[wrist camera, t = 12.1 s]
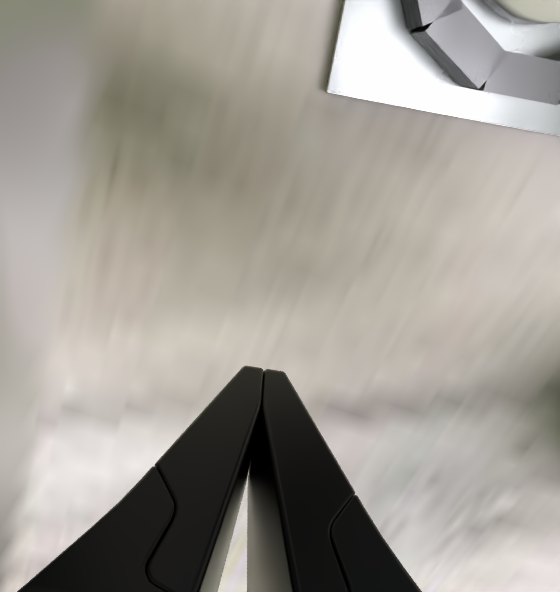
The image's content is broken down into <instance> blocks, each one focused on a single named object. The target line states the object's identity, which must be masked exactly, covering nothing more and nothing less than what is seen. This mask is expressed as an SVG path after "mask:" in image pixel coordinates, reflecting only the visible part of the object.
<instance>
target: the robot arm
mask: <svg viewBox="0 0 560 592" xmlns="http://www.w3.org/2000/svg"><path fill="white" fill-rule="evenodd" d="M248 471H249V475H248ZM247 476H248V530H247V592H422V591H421V590H420V589H419V587H418V586H417V585H416V583H415V582H414V580H413V579H412V578H411V576H410V575H409V574H408V572H407V571H406V570H405V568H404V567H403V566H402V564H401V563H400V561H399V560H398V558H397V557H396V556H395V554H394V553H393V551H392V550H391V548H390V547H389V546H388V544H387V543H386V541H385V540H384V538H383V537H382V535H381V534H380V532H379V531H378V529H377V527H376V526H375V524H374V523H373V521H372V519H371V518H370V516H369V515H368V513H367V511H366V510H365V508H364V506H363V505H362V503H361V501H360V499H359V498H358V496H357V495H355V491H354V489H353V488H352V486H351V484H350V483H349V481H348V479H347V477H346V476H345V474H344V472H343V471H342V469H341V467H340V466H339V464H338V462H337V460H336V459H335V457H334V455H333V454H332V452H331V450H330V449H329V447H328V445H327V443H326V442H325V440H324V438H323V437H322V435H321V433H320V432H319V430H318V428H317V426H316V425H315V423H314V421H313V420H312V418H311V416H310V415H309V413H308V411H307V409H306V408H305V406H304V404H303V403H302V401H301V399H300V397H299V396H298V394H297V392H296V391H295V389H294V387H293V386H292V384H291V382H290V380H289V379H288V377H287V375H286V374H285V373H284V372H283V371H277V370H270V369H266V370H265V371H263V369H262V368H257V367H251V366H244V367H243V368H241V370H240V371H239V372H238V373H237V374H236V375H235V376H234V377H233V378H232V380H231V381H230V382H229V383H228V384H227V385H226V386H225V387H224V388H223V389H222V391H221V392H220V393H219V394H218V395H217V396H216V397H215V398H214V399H213V401H212V402H211V403H210V404H209V405H208V406H207V407H206V408H205V409H204V410H203V412H202V413H201V414H200V415H199V416H198V417H197V418H196V419H195V420H194V422H193V423H192V424H191V425H190V426H189V427H188V428H187V429H186V430H185V431H184V433H183V434H182V435H181V436H180V437H179V438H178V439H177V440H176V441H175V443H174V444H173V445H172V446H171V447H170V448H169V449H168V450H167V451H166V452H165V454H164V455H163V456H162V457H161V458H160V459H159V460H158V461H157V462H156V464H155V467H152V468H151V469H150V470H149V471H148V472H147V473H146V474H145V475H144V476H143V478H142V479H141V480H140V481H139V482H138V483H137V484H136V485H135V486H134V487H133V488H132V489H131V490H130V491H129V492H128V493H127V494H126V495H125V496H124V497H123V498H122V500H121V501H120V502H119V503H118V504H116V505H115V506H114V507H113V508H112V509H111V510H110V511H109V512H108V513H107V514H105V515H104V516H103V517H102V518H101V519H100V520H99V521H98V522H97V523H96V524H95V525H93V526H92V527H91V528H90V529H89V530H88V531H87V532H85V533H84V534H83V535H82V536H81V537H80V538H78V539H77V540H76V541H75V542H74V543H73V544H72V545H70V546H69V547H68V548H67V549H66V550H65V551H64V552H62V553H61V554H60V555H59V556H58V557H57V558H55V559H54V560H53V561H52V562H51V563H50V564H49V565H47V566H46V567H45V568H44V569H43V570H42V571H40V572H39V573H38V574H37V575H36V576H35V577H34V578H32V579H31V580H30V581H29V582H28V583H27V584H26V585H24V586H23V587H22V588H21V589H20V590H18V591H17V592H217V591H218V588H219V584H220V580H221V576H222V572H223V569H224V565H225V561H226V557H227V554H228V550H229V546H230V542H231V539H232V535H233V531H234V527H235V523H236V520H237V516H238V512H239V508H240V505H241V501H242V497H243V493H244V489H245V485H246V481H247Z"/></svg>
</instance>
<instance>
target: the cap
mask: <svg viewBox="0 0 560 592" xmlns="http://www.w3.org/2000/svg"><path fill="white" fill-rule="evenodd" d="M483 1H484V2H485V3H486V4H487V5H488V6H489V7H490V8H491V9H492V10H493V11H494V12H496V13H497V14H498V15H500V16H501V17H504V18H506V19H508V20H510V21H513V22H517V23H520V24H529V25H537V24H548V23H556V22H560V0H483Z"/></svg>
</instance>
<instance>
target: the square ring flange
mask: <svg viewBox="0 0 560 592" xmlns="http://www.w3.org/2000/svg"><path fill="white" fill-rule="evenodd" d="M326 92H327V93H332V94H338V95H343V96H348V97H354V98H359V99H364V100H370V101H375V102H380V103H385V104H391V105H396V106H401V107H407V108H412V109H417V110H423V111H428V112H433V113H439V114H444V115H449V116H454V117H460V118H465V119H470V120H476V121H481V122H486V123H492V124H497V125H502V126H508V127H513V128H518V129H523V130H529V131H534V132H539V133H545V134H550V135H555V136H560V22H556V23H548V24H537V25H529V24H520V23H517V22H513V21H510V20H508V19H506V18H504V17H501V16H500V15H498V14H497V13H496V12H494V11H493V10H492V9H491V8H490V7H489V6H488V5H487V4H486V3H485V2H484V1H483V0H343V5H342V10H341V15H340V20H339V25H338V30H337V35H336V40H335V45H334V51H333V56H332V61H331V66H330V71H329V76H328V81H327V86H326Z"/></svg>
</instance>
